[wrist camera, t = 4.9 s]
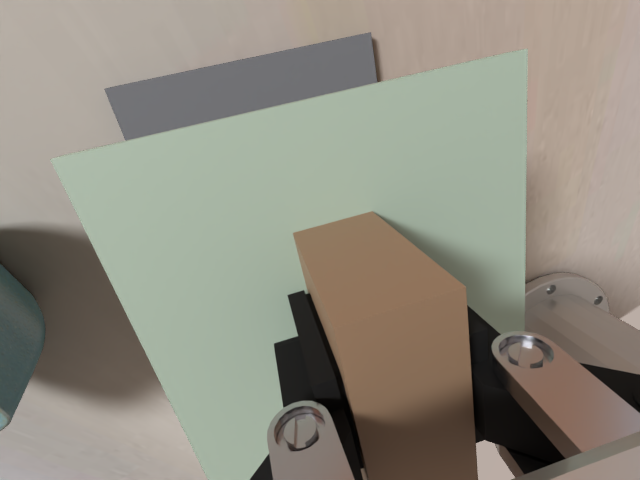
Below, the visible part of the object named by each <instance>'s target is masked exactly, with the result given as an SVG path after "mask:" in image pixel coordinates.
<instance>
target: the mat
mask: <svg viewBox="0 0 640 480" xmlns="http://www.w3.org/2000/svg"><path fill="white" fill-rule="evenodd" d="M373 83H377V77H376V69H375V61H374V53H373V46H372V38H371V32H370V33H365V34H360V35H355V36H351V37H346V38H341V39H337V40H332V41H327V42H322V43H318V44H313V45H308V46H304V47H299V48H294V49H289V50H285V51H280V52H275V53H271V54H266V55H261V56H256V57H252V58H247V59H242V60H237V61H233V62H228V63H223V64H219V65H214V66H209V67H204V68H200V69H195V70H190V71H186V72H181V73H176V74H171V75H167V76H162V77H157V78H152V79H148V80H143V81H138V82H134V83H129V84H124V85H119V86H115V87H110V88H105V92H106V94H107V97H108V99H109V101H110V104H111V106H112V109H113V111H114V114H115V116H116V119H117V121H118V123H119V126H120V128H121V131H122V133H123V136H124V138H125V140H126V141H127V140H131V139H135V138H140V137H144V136H148V135H153V134H157V133H161V132H166V131H170V130H174V129H178V128H183V127H187V126H191V125H196V124H200V123H204V122H209V121H213V120H217V119H222V118H226V117H230V116H235V115H239V114H243V113H248V112H252V111H256V110H261V109H265V108H269V107H274V106H278V105H282V104H286V103H291V102H295V101H299V100H304V99H308V98H312V97H317V96H321V95H325V94H330V93H334V92H338V91H343V90H347V89H351V88H356V87H360V86H364V85H369V84H373Z"/></svg>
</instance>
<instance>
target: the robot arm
mask: <svg viewBox="0 0 640 480" xmlns="http://www.w3.org/2000/svg"><path fill="white" fill-rule="evenodd" d="M287 296H288V299H289V303H290V307H291V311H292V315H293V318H294V322H295V326H296V330H297V334H298V336H296V337H293V338H290V339H287V340H283V341H280V342H277V343H274V350H275V357H276V363H277V370H278V376H279V383H280V389H281V396H282V402H283V409H282V410H281V411H279V412H278V413H277V414H276V415H275V417H274V418H273V419H272V421H271V422H270V425H269V428H268V430H267V443H268V449H269V454H268V455H267V457H266V458H265V460H264V461H263V462H262V464H261V465H260V466H259V468H258V469H257V470H256V472H255V473H254V474H253V476H252V477H251V478H250V480H363V477H362V472H361V469H362V468H364V466H363V462H362V458H361V454H360V449H359V445H358V441H357V437H356V433H355V429H354V424H353V420H352V416H351V412H350V408H349V404H348V399H347V395H346V391H345V387H344V383H343V380H342V376H341V373H340V370H339V367H338V365H337V362H336V360H335V357H334V354H333V352H332V349H331V347H330V344H329V341H328V339H327V336H326V334H325V331H324V328H323V326H322V323H321V321H320V318H319V315H318V313H317V310H316V308H315V305H314V302H313V300H312V297H311V295H310V293H309V294H305V291H304V290H302V291H299V292H296V293H292V294H289V295H287ZM467 311H468V327H469V343H470V359H471V376H472V392H473V408H474V424H475V440H476V443H477V442H480V441H483V440H486V441H489V442H492V443H495V446H496V448H497V450H498V452H499V454H500V456H501V457H502V459H503V460H504V462H505V463H506V464H507V466H508V468H509V469H510V471H511V472H512V473H513V475H514V476H515V479H512V480H640V330H637V329H636V328H634V327H632V326H631V325H629V324H627V323H625V322H624V321H622V320H620V319H618V318H617V317H615V316H613V315H611V314H610V313H609V305H608V300H607V298H606V296H605V294H604V292H603V290H602V289H601V288H600V287H599V286H598V285H597V284H595V283H593V282H592V281H590V280H588V279H586V278H584V277H582V276H579V275H577V274H572V273H554V274H549V275H546V276H542V277H539V278H537V279H535V280H533V281H531V282H529V283H527V284H525V331H513V332H507V333H504V334H502V335H501V334H500V333H499V332H498V331H496V330H495V329H494V328H493V327H492V326H491V325H490V324H488V323H487V322H486V321H485V320H484V319H483V318H482V317H480V316H479V315H478V314H477V313H476V312H475V311H474V310H473V309H471V308H470V307H469V306H468V305H467Z"/></svg>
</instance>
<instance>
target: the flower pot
mask: <svg viewBox="0 0 640 480" xmlns="http://www.w3.org/2000/svg"><path fill="white" fill-rule="evenodd" d="M44 340H45V322H44V318H43V315H42V312H41V310H40V308H39V306H38V304H37V302H36V300H35V299H34V297H33V295H32V294H31V293H30V292H29V291H28V290H27V289H26V288H25V287H24V286H23V285H22V284H21V283H19V282H18V281H17V280H16V279H15V278H14V277H13V276H12V275H11V274H10V273H9V272H8V271H7V270H6V269H5V268H4V267H3V266H2V265H1V264H0V431H1V430H2V429H4V428H5V427H6V426H8V424H9V423H10V422H11V420H12V417H13V415H14V413H15V411H16V409H17V407H18V404H19V402H20V400H21V398H22V396H23V393H24V391H25V389H26V387H27V385H28V382H29V380H30V378H31V376H32V374H33V371H34V369H35V367H36V364H37V362H38V360H39V357H40V355H41V352H42V349H43V345H44Z"/></svg>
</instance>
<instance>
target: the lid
mask: <svg viewBox="0 0 640 480" xmlns="http://www.w3.org/2000/svg"><path fill="white" fill-rule="evenodd" d="M527 60H528V49H523V50H517V51H512V52H507V53H502V54H498V55H494V56H489V57H485V58H481V59H477V60H472V61H468V62H464V63H459V64H455V65H451V66H446V67H442V68H438V69H433V70H429V71H425V72H420V73H416V74H412V75H407V76H403V77H399V78H394V79H390V80H386V81H382V82H377V83H373V84H369V85H364V86H360V87H356V88H351V89H347V90H343V91H338V92H334V93H330V94H325V95H321V96H317V97H312V98H308V99H304V100H299V101H295V102H291V103H286V104H282V105H278V106H274V107H269V108H265V109H261V110H256V111H252V112H248V113H243V114H239V115H235V116H230V117H226V118H222V119H217V120H213V121H209V122H204V123H200V124H196V125H191V126H187V127H183V128H178V129H174V130H170V131H166V132H161V133H157V134H153V135H148V136H144V137H140V138H135V139H131V140H127V141H122V142H118V143H114V144H109V145H105V146H101V147H96V148H92V149H88V150H83V151H79V152H75V153H70V154H66V155H62V156H59V157H56V158H53V159H50V160H51V162H52V164H53V166H54V168H55V170H56V172H57V174H58V176H59V178H60V181H61V183H62V185H63V187H64V189H65V191H66V193H67V195H68V197H69V199H70V201H71V203H72V205H73V207H74V209H75V211H76V213H77V215H78V217H79V219H80V221H81V223H82V225H83V227H84V229H85V231H86V233H87V235H88V237H89V239H90V241H91V243H92V245H93V247H94V249H95V251H96V254H97V256H98V258H99V260H100V262H101V264H102V266H103V268H104V270H105V272H106V274H107V276H108V278H109V280H110V282H111V284H112V286H113V288H114V290H115V292H116V294H117V296H118V298H119V300H120V302H121V304H122V306H123V308H124V310H125V312H126V314H127V316H128V318H129V320H130V322H131V324H132V327H133V329H134V331H135V333H136V335H137V337H138V339H139V341H140V343H141V345H142V347H143V349H144V351H145V353H146V355H147V357H148V359H149V361H150V363H151V365H152V367H153V369H154V371H155V373H156V375H157V377H158V379H159V381H160V383H161V385H162V387H163V389H164V391H165V393H166V395H167V397H168V400H169V402H170V404H171V406H172V408H173V410H174V412H175V414H176V416H177V418H178V420H179V422H180V424H181V426H182V428H183V430H184V432H185V434H186V436H187V438H188V440H189V442H190V444H191V446H192V448H193V450H194V452H195V454H196V456H197V458H198V460H199V462H200V464H201V466H202V468H203V471H204V473H205V475H206V477H207V479H208V480H250V478H251V477H252V476H253V474H254V473H255V472H256V470H257V469H258V468H259V466H260V465H261V464H262V462H263V461H264V460H265V458H266V457H267V455H268V454H269V449H268V443H267V430H268V428H269V425H270V422H271V421H272V419H273V418H274V417H275V415H276V414H277V413H278V412H279V411H281V410H282V409H283V402H282V396H281V389H280V383H279V376H278V370H277V363H276V357H275V350H274V343H277V342H280V341H283V340H287V339H290V338H293V337H296V336H298V334H297V330H296V326H295V322H294V318H293V315H292V311H291V307H290V303H289V299H288V296H287V295H289V294H292V293H296V292H299V291H302V290H304V291H305V294H309V293H310V295H311V297H312V300H313V302H314V305H315V308H316V310H317V313H318V315H319V318H320V321H321V323H322V326H323V328H324V331H325V334H326V336H327V339H328V341H329V344H330V347H331V349H332V352H333V354H334V357H335V360H336V362H337V365H338V367H339V370H340V373H341V376H342V380H343V383H344V387H345V391H346V395H347V399H348V404H349V408H350V412H351V416H352V420H353V424H354V429H355V433H356V437H357V441H358V445H359V449H360V454H361V458H362V462H363V466H364V468H362V469H361V472H362V477H363V480H478V474H477V457H476V440H475V424H474V408H473V392H472V376H471V359H470V343H469V327H468V311H467V305H468V306H469V307H470V308H471V309H473V310H474V311H475V312H476V313H477V314H478V315H479V316H480V317H482V318H483V319H484V320H485V321H486V322H487V323H488V324H490V325H491V326H492V327H493V328H494V329H495V330H496V331H498V332H499V333H500V334H501V335H502V334H504V333H507V332H513V331H525V251H526V156H527Z"/></svg>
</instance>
